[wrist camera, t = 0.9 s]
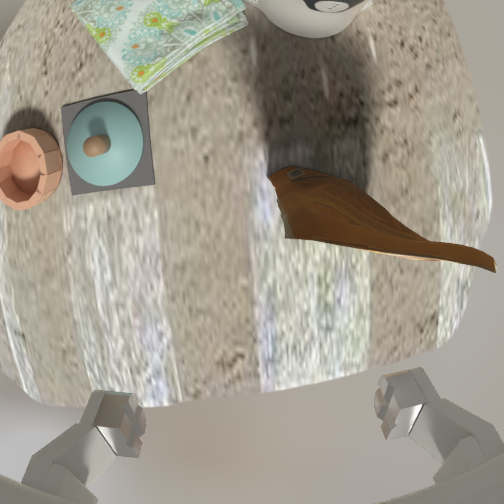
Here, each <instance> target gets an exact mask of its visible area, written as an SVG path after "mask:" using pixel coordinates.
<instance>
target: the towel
mask: <svg viewBox="0 0 504 504" xmlns="http://www.w3.org/2000/svg"><path fill="white" fill-rule="evenodd" d="M70 9H71V11H72V12H73V13H74V14H76V15H77V18H78V20H79V21H80V22H81V23H82V24H83V25H84V26H85V27H86V28H87V29H88V31H89V32H90V34H91V35H92V37H93V38H94V39H95V40H96V42H97V43H98V44H99V45H100V47H101V48H102V50H103V51H104V52H105V53H106V55H107V56H108V57H109V58H110V60H111V61H112V62H113V64H114V65H115V66H116V67H117V68H118V70H119V71H120V72H121V74H122V75H123V77H124V78H125V79H126V80H127V81H128V82H129V84H130V85H131V86H132V87H133V89H134V90H137V92H138V93H139V94H142V93H144V92H146V91H148V90H149V89H151V88H152V87H153V86H154V85H155V84H156V83H158V82H159V81H160V80H162V79H163V78H164V77H165V76H167V75H168V74H169V73H171V72H172V71H173V70H175V69H176V68H178V67H179V66H180V65H182V64H183V63H184V62H186V61H187V60H189V59H190V58H192V57H193V56H194V55H196V54H197V53H198V52H200V51H201V50H202V49H204V48H205V47H207V46H208V45H210V44H212V43H213V42H215V41H217V40H219V39H221V38H223V37H225V36H227V35H229V34H231V33H233V32H235V31H237V30H239V29H241V28H243V27H245V26H247V25H248V22H247V20H246V19H247V18H246V16H245V15H244V13H243V10H245V9H247V7H246V5H245V4H244V2H243V1H242V0H74V1H73V2H72V4H71V5H70Z"/></svg>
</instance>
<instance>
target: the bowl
mask: <svg viewBox="0 0 504 504" xmlns="http://www.w3.org/2000/svg"><path fill="white" fill-rule="evenodd" d="M62 171H63V160H62V154H61V150H60V148H59V145H58V143H57V142H56V140H55V139H54V137H53V136H52V135H51V134H49V133H48V132H46V131H44V130H41V129H35V128H31V129H25V130H19V131H16V132H13V133H10V134H7V135H5V136H4V137H3V139H2V140H1V141H0V198H1V200H2V201H3V203H5V204H6V205H8V206H10V207H12V208H14V209H15V210H22V209H28V208H32V207H33V206H35V205H37V204H39V203H41V202H43V201H44V200H45V199H46V198H47V197H49V196H50V195H51V194H53V192H54V191H55V190H56V188H57V187H58V185H59V183H60V180H61V176H62Z"/></svg>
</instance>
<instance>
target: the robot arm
mask: <svg viewBox="0 0 504 504" xmlns="http://www.w3.org/2000/svg"><path fill="white" fill-rule="evenodd" d="M244 1H245V2H247V3H249V4H251V5H253V6H255V7H257V8H258V9H260V10H261V11H262V12H263V13H264V15H265V16H266V17H267V18H268V19H269V20H270V21H271V22H272V23H273V24H275V25H276V26H278V27H279V28H281V29H282V30H284V31H286V32H288V33H291V34H294V35H297V36H301V37H306V38H324V37H329V36H332V35H335V34H337V33H339V32H341V31H343V30H344V29H345V28H347V27H348V26H349V25H350V23H351V22H352V21H353V19H354V18H355V16H356V15H357V14H358V13H360V12H363V11H365V10H366V9H368V8H369V7H370V6H371V5H372V0H244ZM378 385H379V387H380V388H379V389H378V390H377V391H376V392H375V396H374V408H375V412H376V415H377V417H378V418H380V419H381V420H383V422H382V425H381V428H382V431H383V433H384V436H385V439H386V441H389V440H393V439H397V438H402V437H406V436H408V437H409V438H410V439H411V440H413V441H414V442H415V443H416V444H417V445H419V446H420V447H421V448H423V449H424V450H425V451H426V452H427V453H429V454H430V455H431V456H432V457H434V458H435V459H436V460H437V461H439V462H440V463H441V464H442V466H441V467H440V468H439V469H438V471H437V472H436V473H435V475H434V476H433V479H434V481H435V485H432V486H430V487H427V488H424V489H421V490H419V491H416V492H412V493H409V494H406V495H404V496H400V497H397V498H393V499H390V500H386V501H383V502H379V503H375V504H504V443H503V442H502V440H501V438H500V436H499V434H498V433H497V431H496V429H495V427H494V426H493V425H492V424H490V423H489V422H487V421H485V420H483V419H481V418H479V417H477V416H476V415H474V414H472V413H470V412H468V411H467V410H465V409H463V408H461V407H459V406H458V405H456V404H454V403H452V402H450V401H449V400H447V399H445V398H443V399H441V398H440V397H439V395H438V393H437V391H436V390H435V388H434V386H433V385H432V383H431V381H430V379H429V378H428V376H427V375H426V373H425V371H424V370H423V368H421V367H419V368H415V369H411V370H405V371H401V372H397V373H392V374H387V375H382V376H381V377H380V379H379V382H378ZM138 401H139V400H138V398H137V396H136V394H134V393H124V392H114V391H103V390H94V391H93V392H92V394H91V396H90V398H89V401H88V403H87V406H86V408H85V410H84V413H83V415H82V418H81V420H80V423H79V424H74V425H73V426H72V427H70V428H69V429H68V430H66V431H65V432H64V433H62V434H61V435H60V436H58V437H57V438H56V439H54V440H53V441H52V442H50V443H49V444H47V445H46V446H45V447H43V448H42V449H41V450H39V451H38V452H37V453H35V454H34V455H32V457H31V460H30V462H29V464H28V467H27V469H26V472H25V474H24V477H23V479H22V482H21V483H19V482H17V481H15V480H12V479H10V478H8V477H5V476H3V475H1V474H0V504H97V502H98V499H97V498H96V496H94V494H92V493H91V492H90V491H89V490H88V489H87V488H88V487H89V486H90V485H91V484H92V483H93V482H94V481H95V480H96V479H97V478H98V477H99V476H100V474H101V473H102V472H103V471H104V470H105V469H106V468H107V467H108V466H109V465H110V464H111V463H112V462H113V461H114V460H115V458H116V457H117V456H123V457H134V458H139V454H140V450H141V446H142V442H141V440H140V438H139V437H140V436H141V435H143V434H144V433H145V428H146V417H145V412H144V410H143V408H142V407H140V406H139V405H137V404H138Z"/></svg>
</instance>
